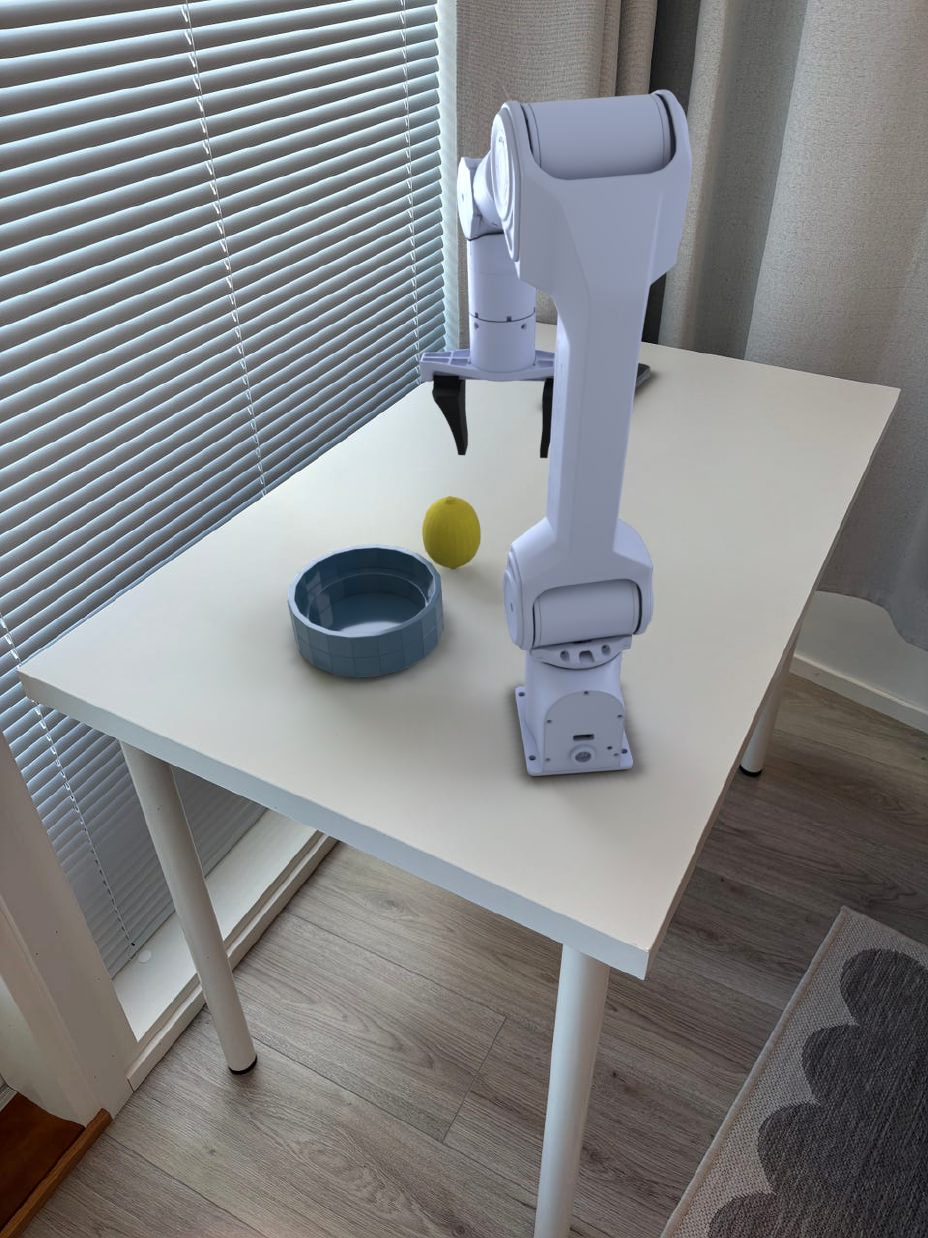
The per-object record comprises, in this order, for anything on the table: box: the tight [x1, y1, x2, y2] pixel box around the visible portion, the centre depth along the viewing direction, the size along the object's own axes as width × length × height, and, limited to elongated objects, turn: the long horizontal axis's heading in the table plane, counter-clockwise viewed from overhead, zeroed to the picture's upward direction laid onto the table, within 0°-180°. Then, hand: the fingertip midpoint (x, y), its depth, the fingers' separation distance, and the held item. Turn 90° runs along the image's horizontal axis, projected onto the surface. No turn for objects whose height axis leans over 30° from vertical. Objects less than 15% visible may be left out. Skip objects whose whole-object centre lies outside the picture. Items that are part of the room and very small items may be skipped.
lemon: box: [421, 495, 482, 570], centre depth 90 cm, size 6×6×8 cm
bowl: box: [287, 543, 445, 678], centre depth 84 cm, size 13×13×5 cm
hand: (503, 451), depth 89 cm, fingers open, 7 cm apart
